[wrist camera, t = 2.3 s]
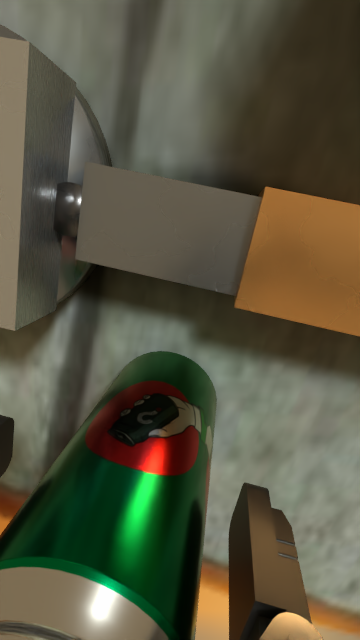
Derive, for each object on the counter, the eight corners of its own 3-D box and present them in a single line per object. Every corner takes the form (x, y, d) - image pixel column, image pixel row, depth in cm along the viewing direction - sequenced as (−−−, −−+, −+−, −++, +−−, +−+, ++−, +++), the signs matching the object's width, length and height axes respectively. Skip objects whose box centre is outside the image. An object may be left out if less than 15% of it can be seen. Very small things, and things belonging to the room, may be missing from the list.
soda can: (103, 365, 17) (-148, 643, 6) (193, 332, 16) (97, 604, 5) (144, 446, 18) (-3, 817, 7) (232, 421, 17) (229, 822, 6)
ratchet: (570, 133, 12) (759, 85, 8) (427, 420, 16) (500, 496, 11) (-138, 12, 14) (-296, -77, 10) (-117, 285, 18) (-226, 305, 14)
